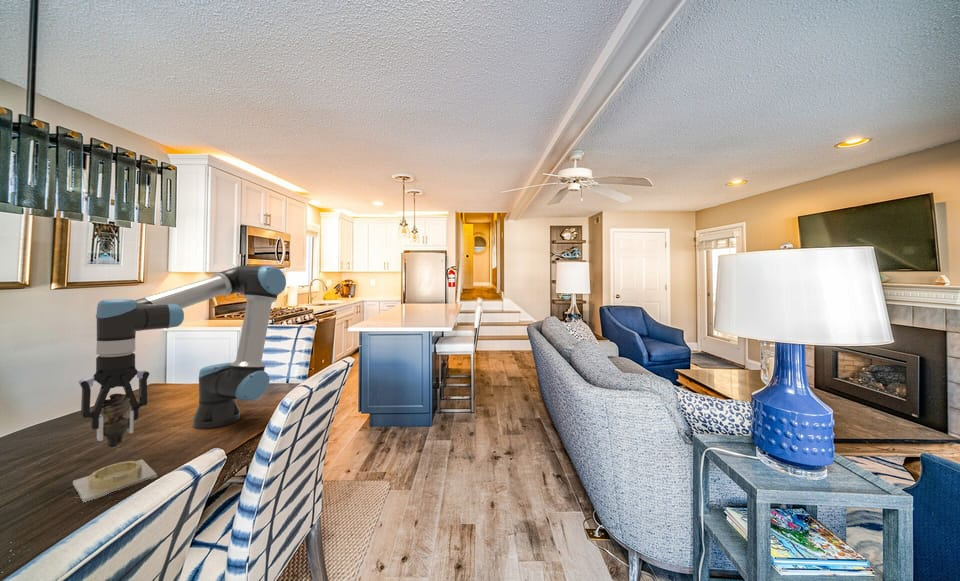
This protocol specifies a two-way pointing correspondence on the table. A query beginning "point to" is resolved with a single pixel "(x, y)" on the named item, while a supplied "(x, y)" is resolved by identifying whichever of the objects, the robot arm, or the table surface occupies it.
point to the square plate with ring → (112, 479)
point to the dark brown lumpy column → (116, 418)
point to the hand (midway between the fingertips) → (115, 435)
